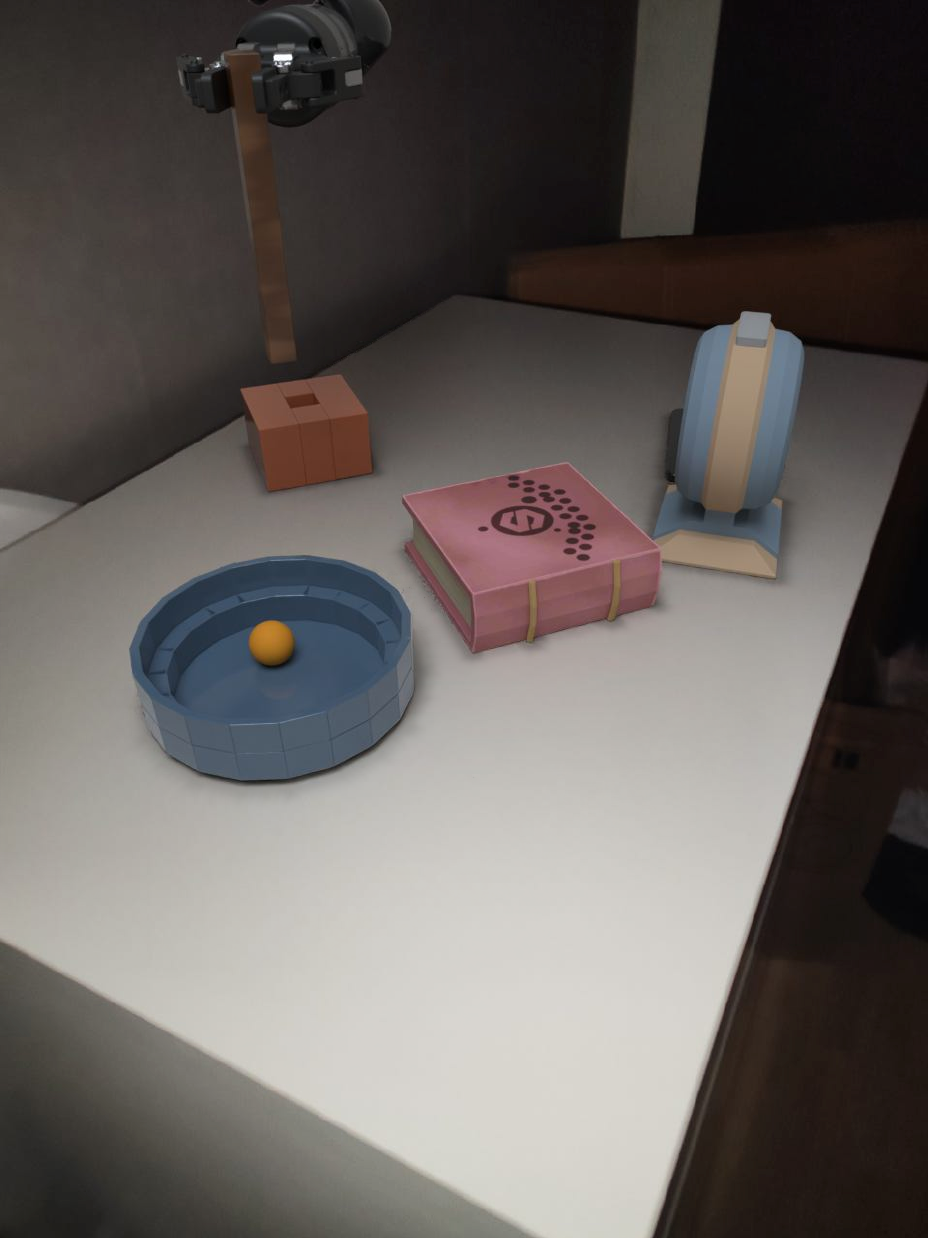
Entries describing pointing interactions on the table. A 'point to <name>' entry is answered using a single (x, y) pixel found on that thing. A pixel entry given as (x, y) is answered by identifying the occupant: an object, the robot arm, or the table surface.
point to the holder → (307, 431)
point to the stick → (261, 207)
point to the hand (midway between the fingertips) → (234, 94)
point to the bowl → (274, 667)
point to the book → (529, 555)
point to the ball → (271, 643)
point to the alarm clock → (733, 449)
